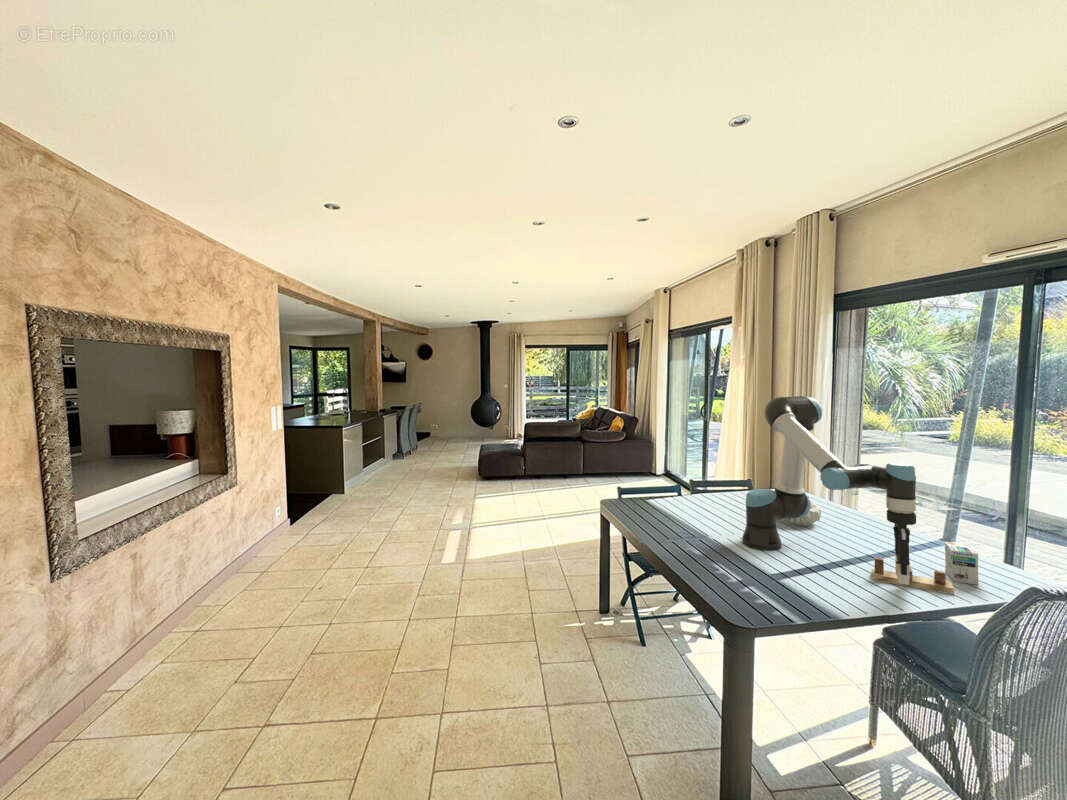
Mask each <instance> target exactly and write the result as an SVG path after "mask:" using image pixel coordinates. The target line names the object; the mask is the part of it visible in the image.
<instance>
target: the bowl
mask: <svg viewBox="0 0 1067 800" xmlns="http://www.w3.org/2000/svg"><path fill="white" fill-rule="evenodd" d="M810 503H811V506H810V510H809V512H808V513H807V514H806V515H805V516H803V517H799V518H795V519H792V518H791V519H783V521H785V522H787V523H789V524H793V525H796V524H797V526H811V525H812V524H814V523H816V522H820V520H821V518H822V517H821V514H822V513H821V512H822V511H821V507H820V506H819V505H818V504H817V503H815V502H810Z"/></svg>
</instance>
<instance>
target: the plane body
mask: <svg viewBox="0 0 1067 800" xmlns="http://www.w3.org/2000/svg"><path fill="white" fill-rule="evenodd" d="M884 561H885V560H884V557H879V556H874V568H871V579H872V581H876V582H883V583H889V584H893V585H900V586H906V587H911V588H915V589H921V590H927V591H932V590H933V592H938V591H941V592H940V593H943V592H946V593H945V594H949V593H952V594H951V595H955V587H954V585H953V584H952V581H949V580H947V572H946V571H941V570H934V571H933V572H934V573H933V575H934V577H933V578H931V577H926V576H919V575H914V574H913V570H912V567H911V566H909V572H910V580H909V585H906V584H900V583H898V577H897V575H896V571H888V570H884V568H885V567H884Z"/></svg>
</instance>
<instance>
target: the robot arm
mask: <svg viewBox="0 0 1067 800" xmlns="http://www.w3.org/2000/svg"><path fill="white" fill-rule="evenodd" d="M822 417H823V408H822V406H821V404H820V403H819V401H818V400H817V399H815V398H814V397H811V396H805V395H803V396H802V395H799V396H798V395H796V396H795V395H794V396H778V397H775V398H772V399H771V400H770V401H769V402H767V404H766V406H765V409H764V418H765V420H766V423H767V424H768V426H769V427H771V428H772V429H773V431H775V432H777V433H780V434H781V435H782V436H783V437H784V441H783V449H782V458H781V466H780V474H779V482H778V483H776V484H775V486H774V490H773V489H770V488H769V489H768V488H762V489H761V488H759V489H758V488H755V489H752V490H749V491H748V492H747V493H746V496H745V497H746V498H745V510H746V511H745V513H746V514H745V515H746V517H745V520H746V524H745V528H744V530H743V535H742V537H741V538H742V539H741V541H742V545H744V546H746V547H747V548H751V549H754V550H759V551H768V552H769V551H778V550H781V548H782V540H781V537H780V535H779V531H778V529H777V521H778V520H784V519H791V518H792V519H795V518H799V517H803V516H805V515H806V514H807V513H808V512H809V510H810V506H811V503H812V502H811V500H810V497H809V495H808V493H807V492H806V489H805V488H804V487H803V481H804V473H805V466H806V465H805V464H806V461H808V462H809V463H810V464H811V465H812V466H813V467H814V468H815V469H816V471H818V472H819V473H820V475H819V477H820V481H821V483H822V485H823V487H825V488H826V489H828V490H833V491H834V490H835V491H844V490H851V489H865V488H875V489H881V490H885V493H886V499H885V502H886V503H885V504H886V505H885V506H886V508H887V509H886V520H887V521H888V523H889V522H890V523H892V524H893V526H892V527H893V536H894V551H895V552H894V553H898V559H899V561H898V562H897V561H896V564H898V583H900V584H906V585H909V567H910V565H911V563H910V535H911V531H910V530H911V529H910V528H909V527H908V526H913V525H916V524H917V513H916V511H917V505H919V502H918V501H916V500H917V497H916V491H917V489H916V488H917V487H916V486H917V485H916V484H917V476H916V468H915V466H914V465H912V464H909V463H903V462H888V463H886V465H885V466H879V465H878V466H877V465H871V464H869V463H855V464H854V465H853V466H846V465H845V464H844V463H843V462H842V461H841V460H839V458H837V456H835V455H834V454H833V453H832V452H831V451H830V450H829V449H828V448H827V447H826V446H825V445H824V444H823V443H821V441H819V440H818V439H817V438H816V437H815V436H814V435H813V434H812V433H811V432H813V431H814V425H815V424H817V423H818V422H819V421H820V420H822ZM904 560H905V561H904ZM896 575H897V574H896Z"/></svg>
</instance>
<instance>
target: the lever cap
mask: <svg viewBox="0 0 1067 800" xmlns="http://www.w3.org/2000/svg"><path fill="white" fill-rule="evenodd" d="M894 553H895V552H894ZM894 555H895V556H894V558H895V560H894V561H895V562H894V563H895V565H894V567H895V568H894V569H895V572H896V574H897V577H898V564H896V561H897V562H898V561H899V559H898V553H895V554H894ZM904 561H905V560H904ZM909 580H910V572H909Z"/></svg>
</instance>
